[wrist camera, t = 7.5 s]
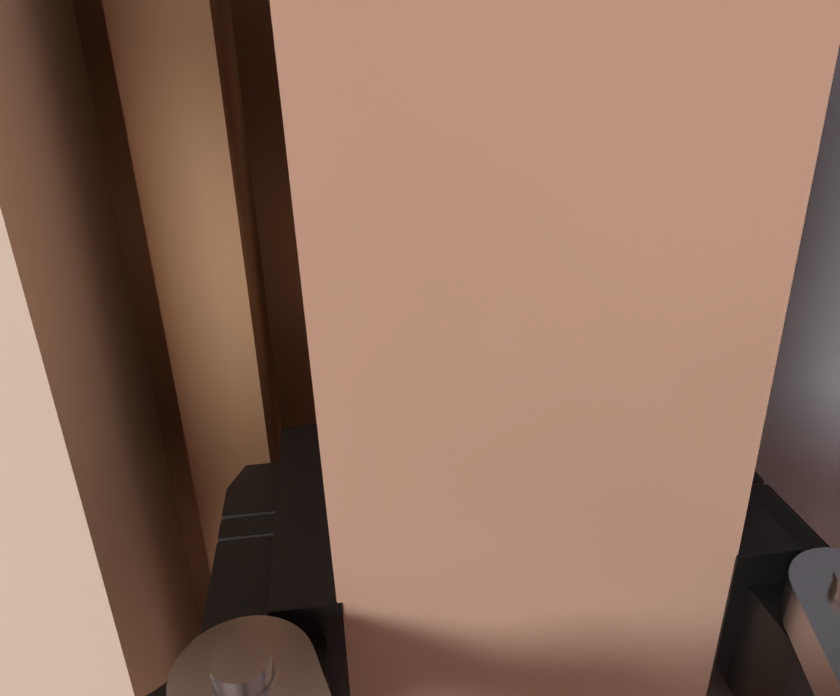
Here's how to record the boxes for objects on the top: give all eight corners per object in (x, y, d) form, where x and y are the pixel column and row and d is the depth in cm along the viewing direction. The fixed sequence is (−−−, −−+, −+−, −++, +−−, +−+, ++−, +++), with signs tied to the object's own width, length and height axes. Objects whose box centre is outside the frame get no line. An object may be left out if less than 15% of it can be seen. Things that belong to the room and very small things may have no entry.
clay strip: (255, -305, 7) (194, -663, 3) (646, -300, 7) (969, -609, 4) (372, 832, 14) (392, 1099, 11) (560, 801, 15) (639, 1046, 11)
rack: (-527, -418, 8) (-1042, -689, 5) (698, -366, 10) (876, -544, 7) (-13, 774, 18) (-86, 942, 15) (583, 691, 20) (637, 823, 16)
